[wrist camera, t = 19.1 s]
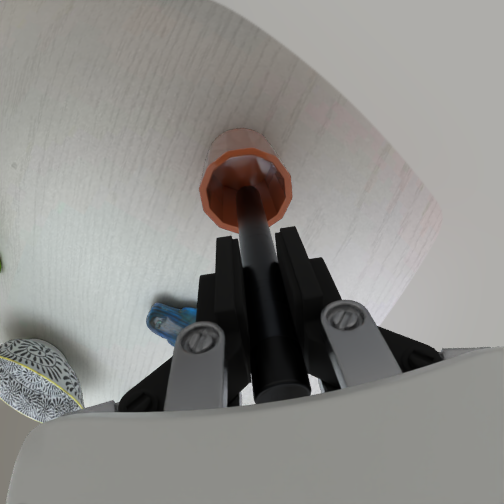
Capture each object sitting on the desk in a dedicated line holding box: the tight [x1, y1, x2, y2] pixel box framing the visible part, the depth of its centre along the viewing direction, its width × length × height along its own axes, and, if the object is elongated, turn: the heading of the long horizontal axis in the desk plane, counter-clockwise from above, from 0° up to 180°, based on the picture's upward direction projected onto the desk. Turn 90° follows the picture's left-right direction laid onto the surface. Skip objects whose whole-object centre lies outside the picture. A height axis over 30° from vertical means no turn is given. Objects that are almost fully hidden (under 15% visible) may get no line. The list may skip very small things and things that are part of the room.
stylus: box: [236, 186, 311, 404], centre depth 13 cm, size 1×1×13 cm
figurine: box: [146, 303, 197, 347], centre depth 31 cm, size 5×4×15 cm
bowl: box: [0, 339, 85, 423], centre depth 31 cm, size 16×16×8 cm
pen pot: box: [199, 128, 292, 234], centre depth 21 cm, size 5×5×7 cm
